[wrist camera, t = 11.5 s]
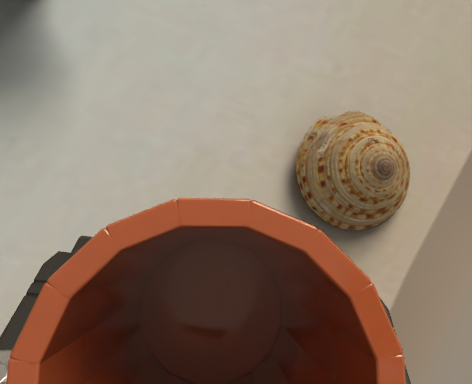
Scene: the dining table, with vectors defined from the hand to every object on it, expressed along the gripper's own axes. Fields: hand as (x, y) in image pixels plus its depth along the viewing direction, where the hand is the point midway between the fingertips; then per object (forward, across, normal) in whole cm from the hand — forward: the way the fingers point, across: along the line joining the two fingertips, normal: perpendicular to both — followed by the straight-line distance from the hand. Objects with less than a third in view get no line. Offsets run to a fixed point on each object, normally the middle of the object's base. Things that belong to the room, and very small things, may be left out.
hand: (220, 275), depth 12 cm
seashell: (+18, +9, -7) cm, 21 cm away
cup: (+2, 0, -4) cm, 5 cm away
